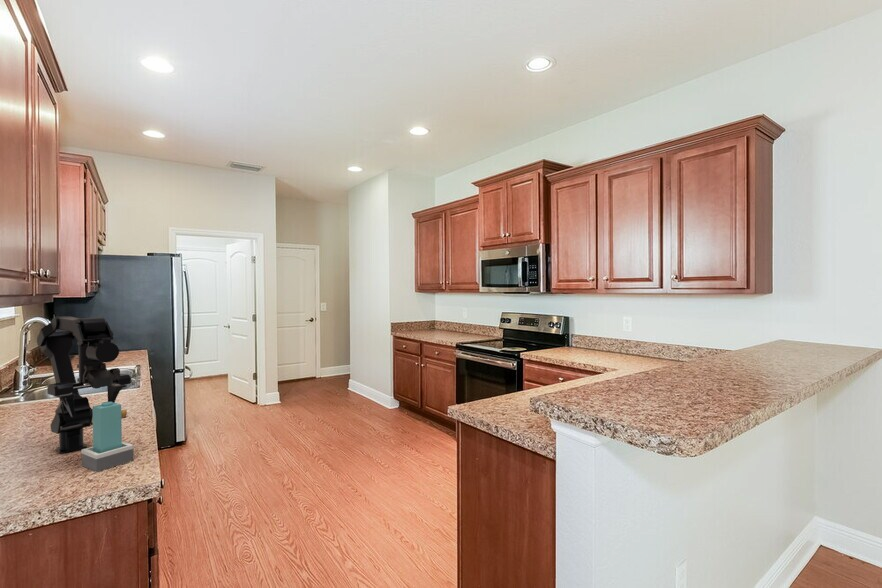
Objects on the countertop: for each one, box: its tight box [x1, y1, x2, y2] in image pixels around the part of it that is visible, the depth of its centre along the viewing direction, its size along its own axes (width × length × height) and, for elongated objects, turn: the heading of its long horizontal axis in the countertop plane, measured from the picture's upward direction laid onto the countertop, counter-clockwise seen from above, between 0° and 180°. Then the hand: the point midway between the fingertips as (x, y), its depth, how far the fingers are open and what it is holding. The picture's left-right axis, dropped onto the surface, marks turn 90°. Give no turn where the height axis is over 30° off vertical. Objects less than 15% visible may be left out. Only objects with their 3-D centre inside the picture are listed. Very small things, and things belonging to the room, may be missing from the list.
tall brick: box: [92, 401, 123, 453], centre depth 122 cm, size 5×5×14 cm
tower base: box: [80, 441, 135, 473], centre depth 122 cm, size 9×9×4 cm
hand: (92, 413), depth 127 cm, fingers open, 9 cm apart
